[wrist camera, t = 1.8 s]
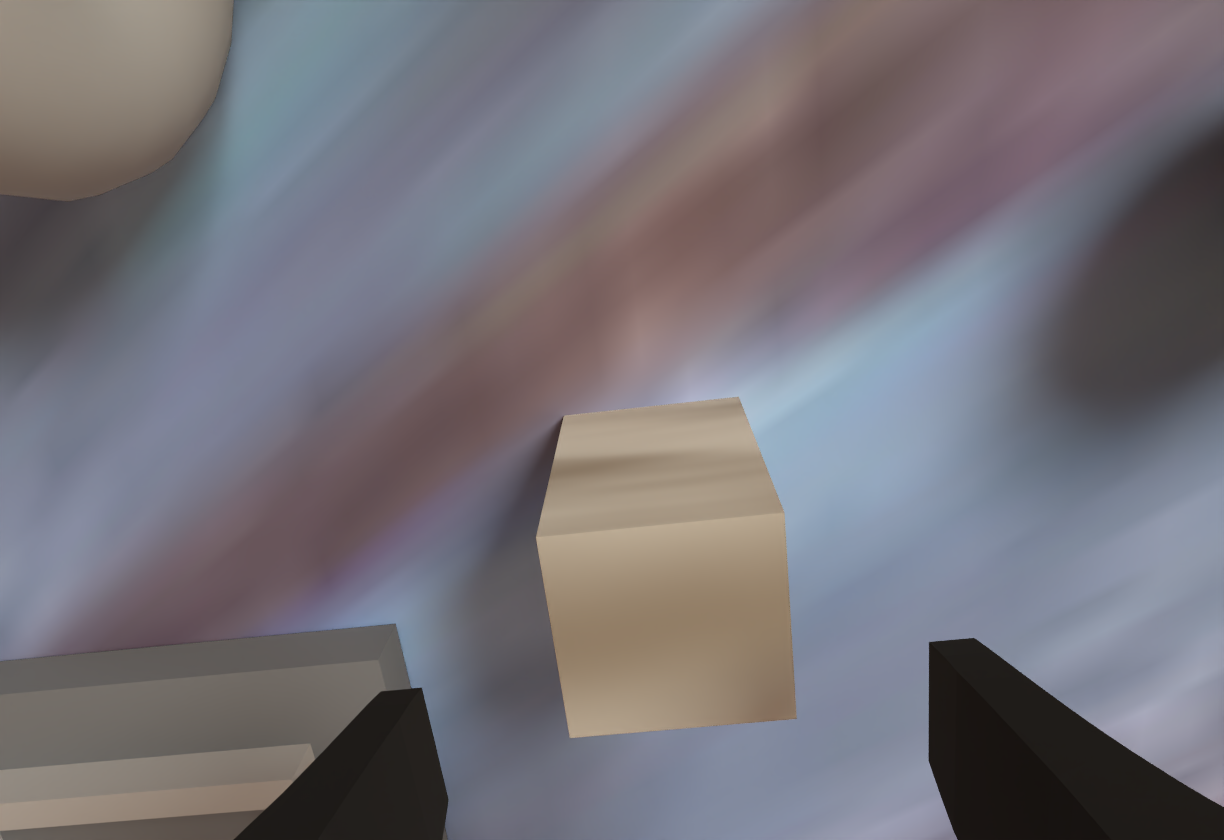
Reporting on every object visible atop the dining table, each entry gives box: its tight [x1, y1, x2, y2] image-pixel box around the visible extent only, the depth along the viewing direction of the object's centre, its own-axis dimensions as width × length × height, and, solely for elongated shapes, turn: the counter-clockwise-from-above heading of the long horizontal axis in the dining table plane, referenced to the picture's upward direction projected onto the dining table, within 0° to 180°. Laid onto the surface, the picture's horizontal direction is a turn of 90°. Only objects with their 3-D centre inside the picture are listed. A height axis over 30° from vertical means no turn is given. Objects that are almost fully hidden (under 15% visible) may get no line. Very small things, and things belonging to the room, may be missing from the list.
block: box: [536, 397, 797, 738], centre depth 17 cm, size 4×4×6 cm
